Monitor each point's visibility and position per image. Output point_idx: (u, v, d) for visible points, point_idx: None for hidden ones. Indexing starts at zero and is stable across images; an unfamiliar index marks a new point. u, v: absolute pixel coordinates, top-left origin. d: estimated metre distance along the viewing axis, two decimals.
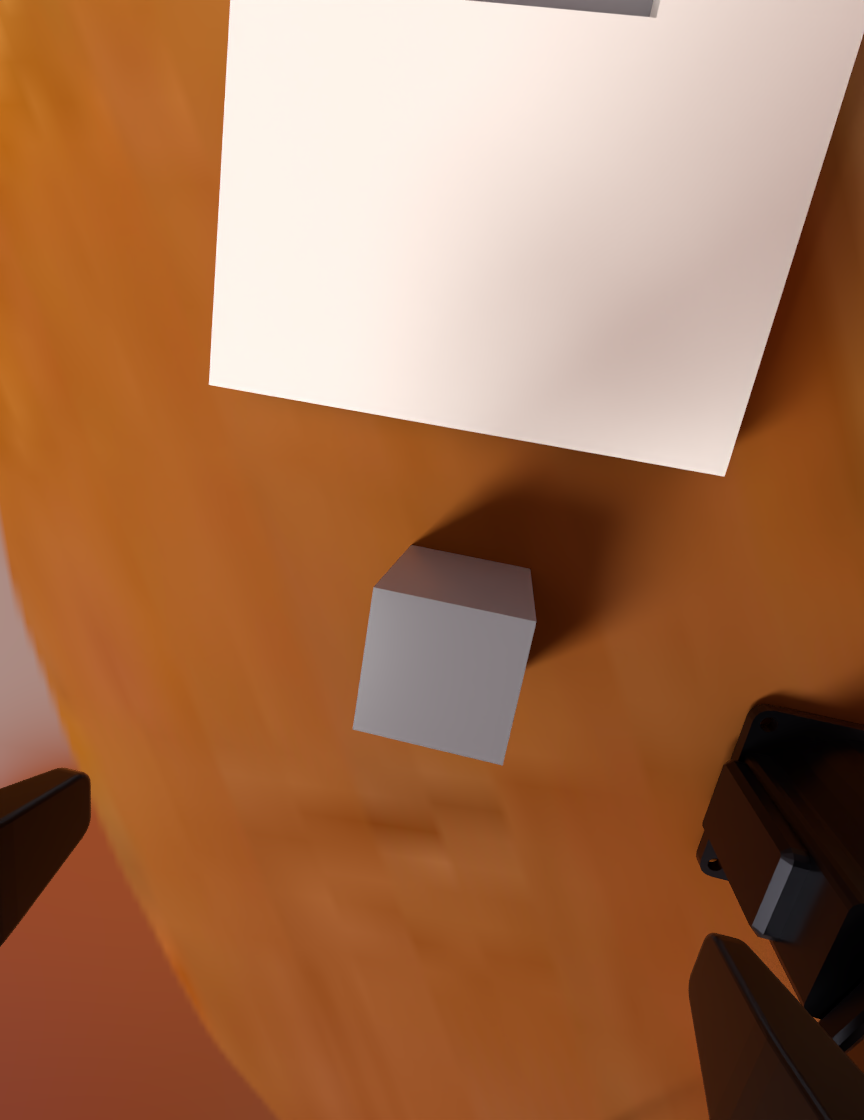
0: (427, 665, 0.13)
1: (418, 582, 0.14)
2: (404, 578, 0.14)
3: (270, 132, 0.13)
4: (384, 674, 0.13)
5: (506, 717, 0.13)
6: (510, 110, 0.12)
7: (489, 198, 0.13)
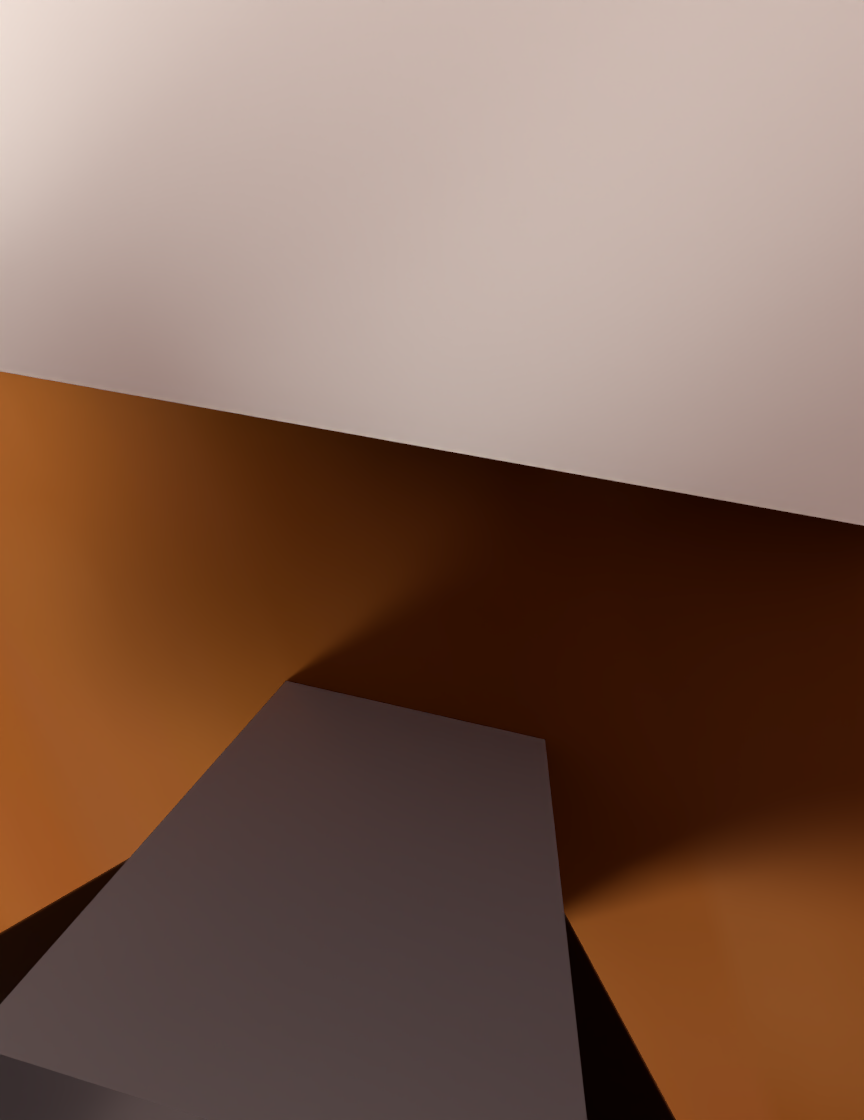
0: None
1: (200, 925, 0.04)
2: (162, 903, 0.04)
3: None
4: None
5: None
6: None
7: None
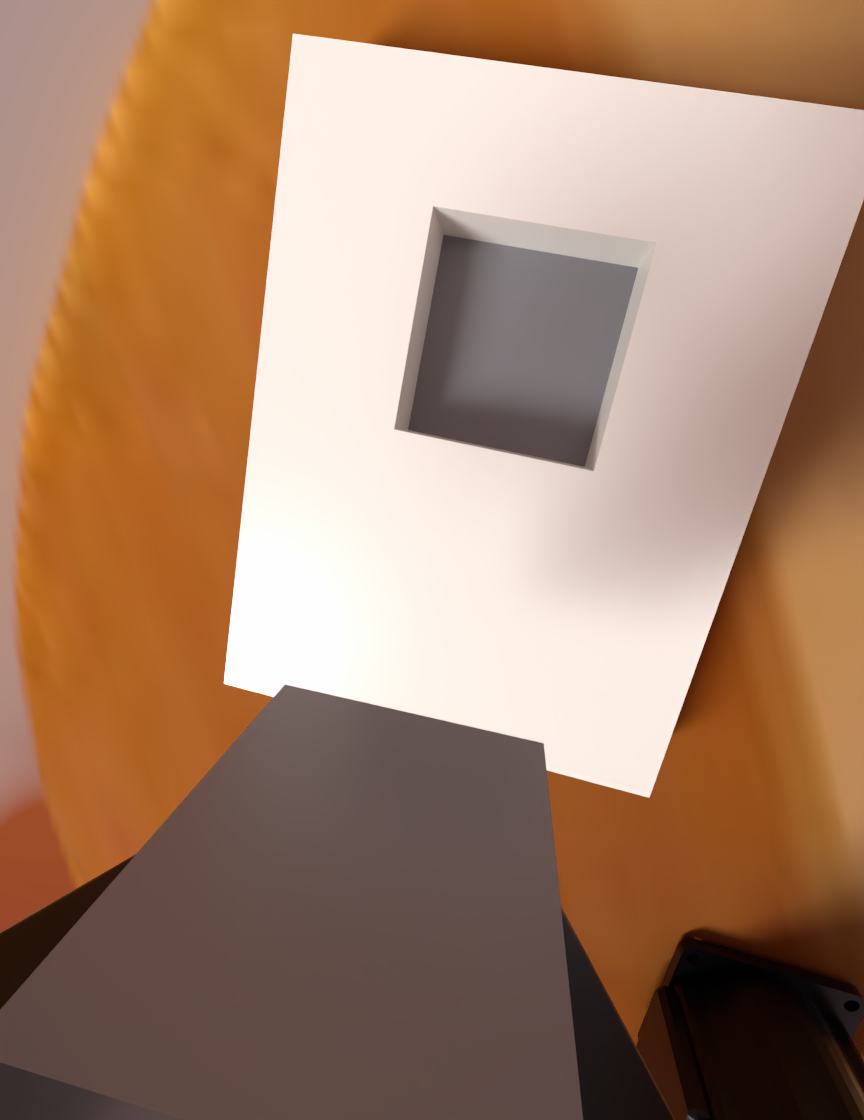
0: None
1: (198, 931, 0.04)
2: (160, 909, 0.04)
3: (281, 510, 0.16)
4: None
5: None
6: (477, 519, 0.15)
7: (459, 578, 0.16)
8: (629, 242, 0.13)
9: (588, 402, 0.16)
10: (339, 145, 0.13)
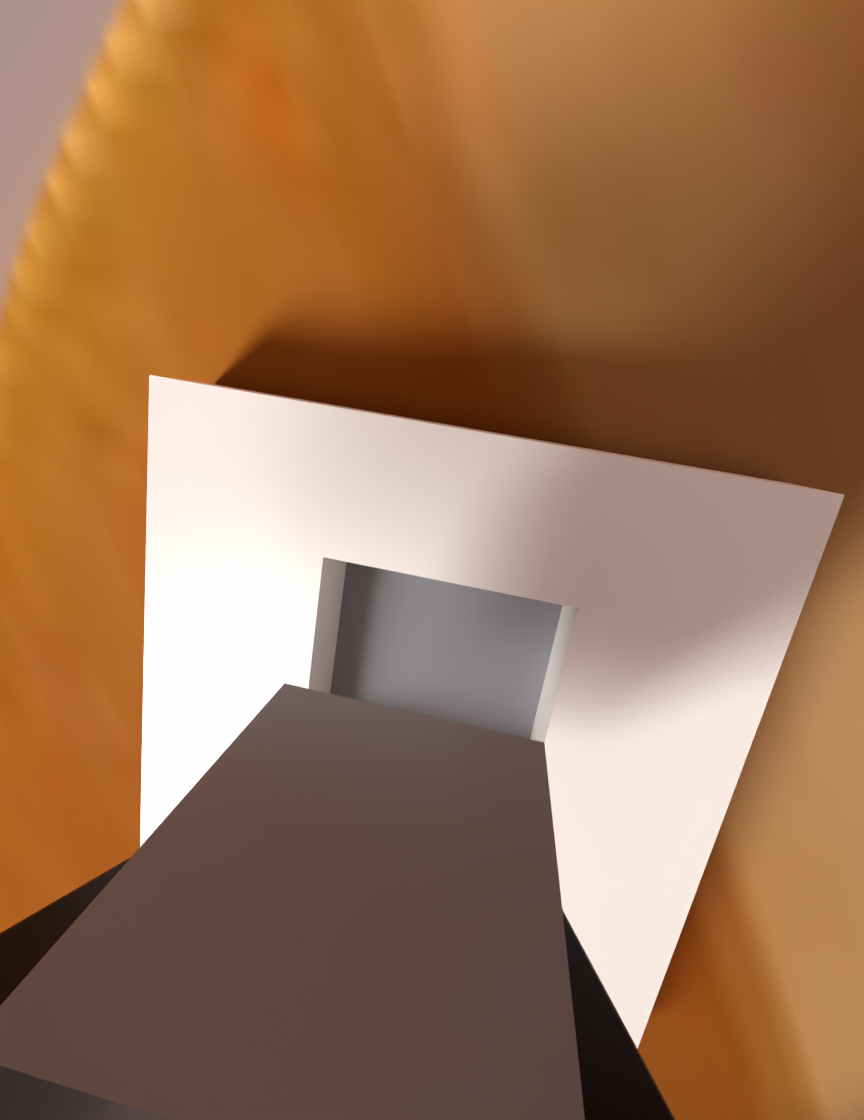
0: None
1: (196, 931, 0.04)
2: (158, 909, 0.04)
3: None
4: None
5: None
6: None
7: None
8: (549, 598, 0.11)
9: (522, 711, 0.14)
10: (212, 490, 0.12)
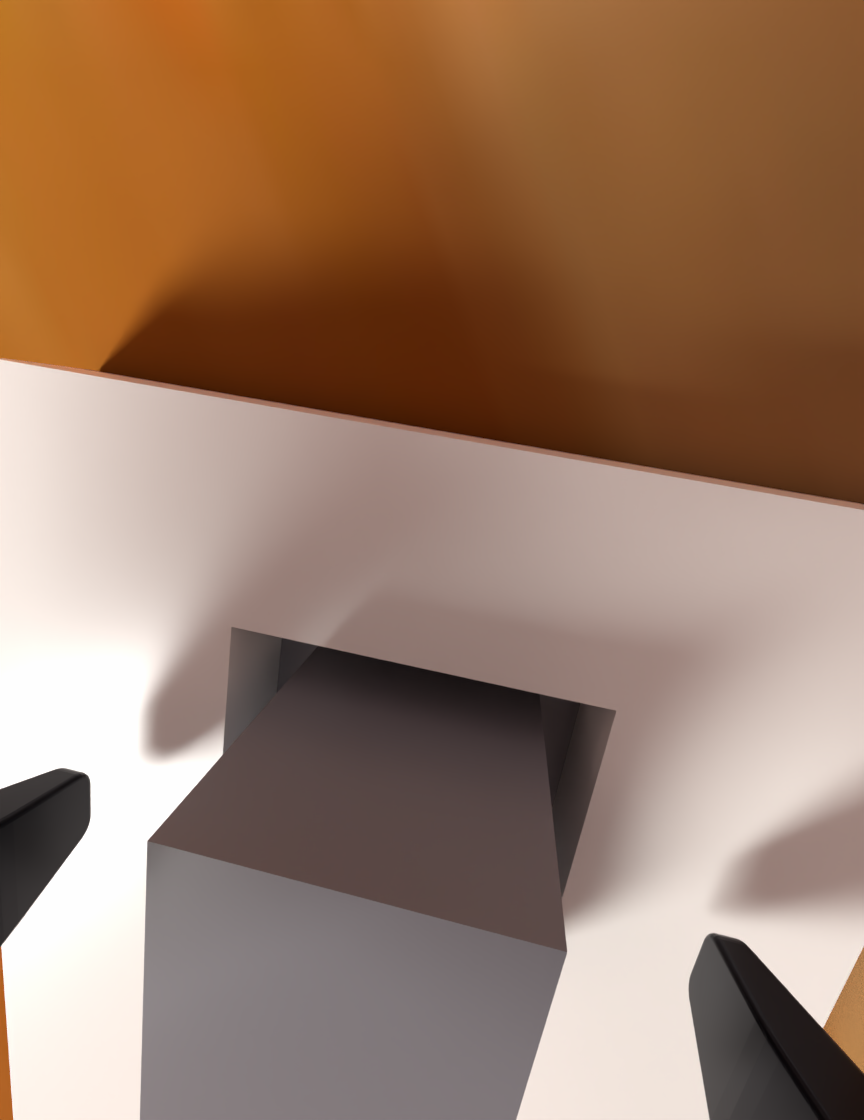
0: (296, 1019, 0.05)
1: (286, 788, 0.06)
2: (257, 775, 0.06)
3: (61, 1000, 0.10)
4: (196, 1026, 0.06)
5: None
6: None
7: None
8: (570, 692, 0.08)
9: None
10: (65, 527, 0.08)
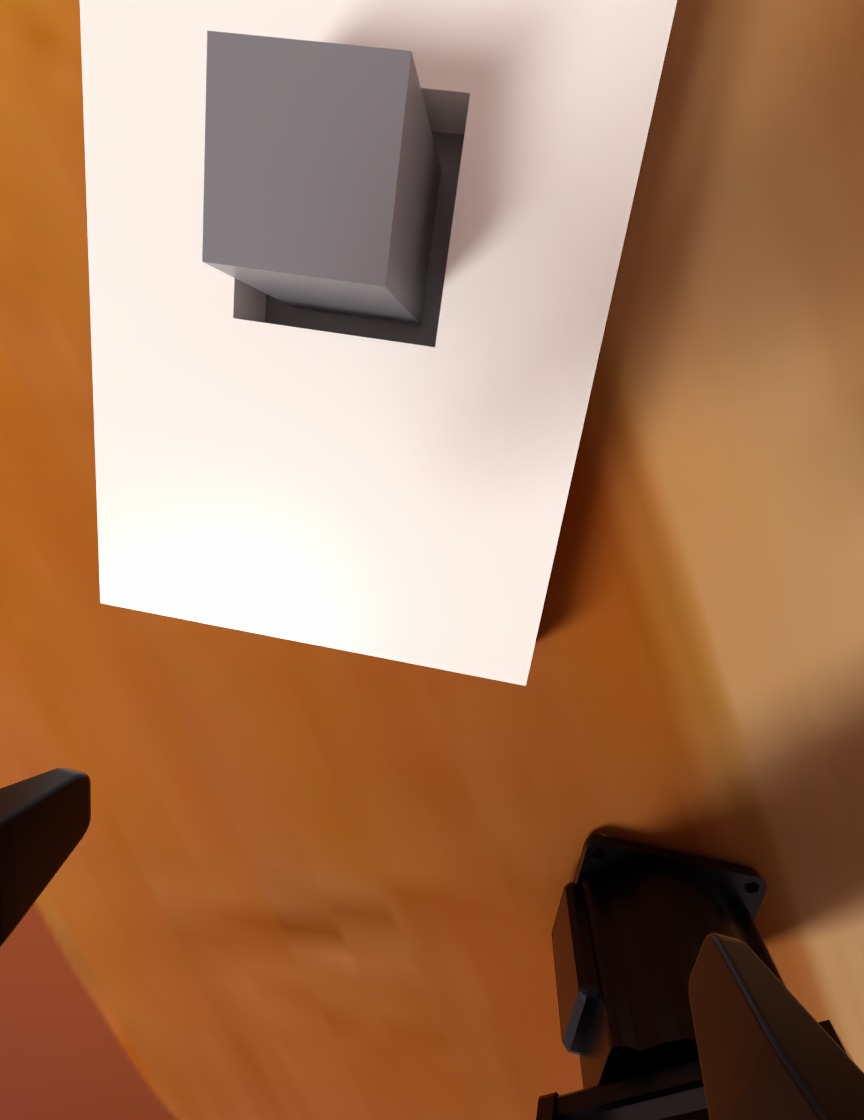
0: (284, 145, 0.11)
1: None
2: None
3: (133, 414, 0.16)
4: (232, 168, 0.11)
5: (385, 211, 0.11)
6: (326, 408, 0.15)
7: (316, 472, 0.15)
8: (446, 96, 0.13)
9: (440, 285, 0.15)
10: (139, 8, 0.13)
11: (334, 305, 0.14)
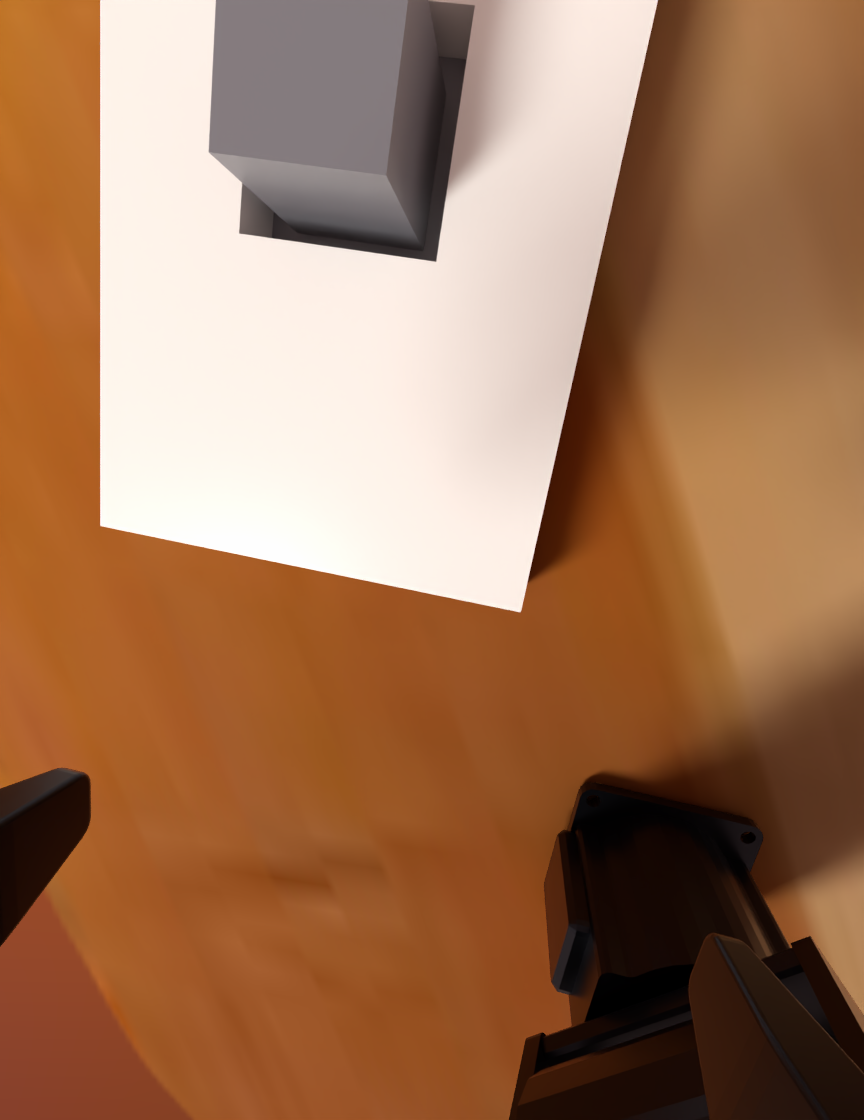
0: (291, 33, 0.11)
1: None
2: None
3: (138, 331, 0.16)
4: (240, 57, 0.11)
5: (387, 99, 0.11)
6: (328, 324, 0.15)
7: (317, 390, 0.15)
8: (451, 10, 0.13)
9: (443, 211, 0.16)
10: None
11: (338, 223, 0.15)
